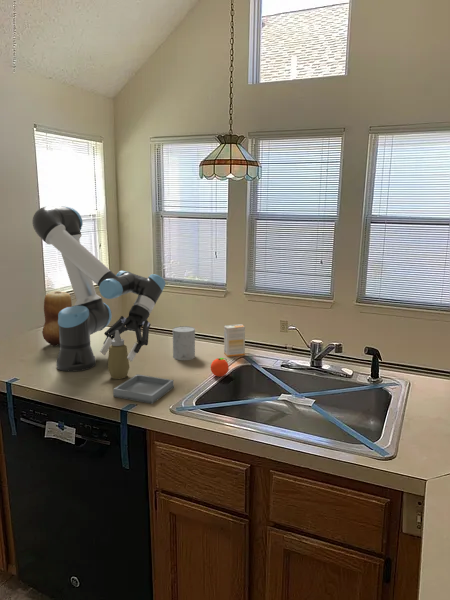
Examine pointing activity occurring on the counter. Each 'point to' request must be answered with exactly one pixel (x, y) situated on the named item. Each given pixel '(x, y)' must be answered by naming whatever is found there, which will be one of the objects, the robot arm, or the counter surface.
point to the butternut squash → (54, 314)
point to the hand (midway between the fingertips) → (115, 356)
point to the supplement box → (234, 340)
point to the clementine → (219, 367)
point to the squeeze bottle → (118, 358)
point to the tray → (143, 388)
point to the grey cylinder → (183, 343)
